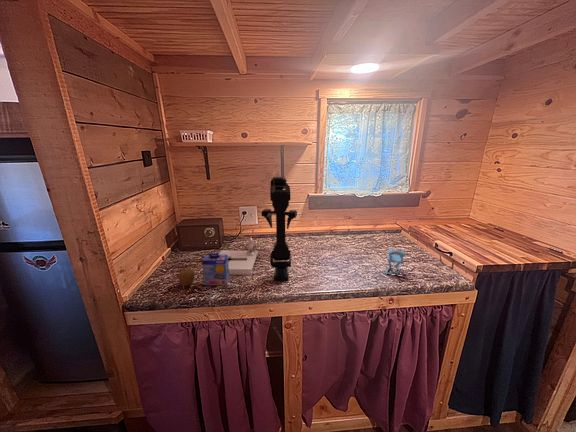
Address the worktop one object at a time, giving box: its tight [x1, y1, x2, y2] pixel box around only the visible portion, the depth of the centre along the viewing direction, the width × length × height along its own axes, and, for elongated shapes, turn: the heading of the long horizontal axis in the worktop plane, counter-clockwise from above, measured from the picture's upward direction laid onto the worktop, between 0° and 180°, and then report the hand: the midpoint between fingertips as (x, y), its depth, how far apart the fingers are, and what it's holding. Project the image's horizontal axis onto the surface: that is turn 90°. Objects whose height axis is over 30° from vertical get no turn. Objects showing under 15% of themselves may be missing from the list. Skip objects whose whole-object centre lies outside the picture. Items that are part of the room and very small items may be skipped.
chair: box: [384, 247, 406, 277], centre depth 107 cm, size 8×8×12 cm
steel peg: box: [246, 236, 256, 256], centre depth 119 cm, size 4×4×9 cm
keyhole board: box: [218, 249, 259, 276], centre depth 115 cm, size 20×20×3 cm
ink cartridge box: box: [201, 253, 230, 286], centre depth 98 cm, size 10×6×14 cm, turn 94°
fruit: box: [178, 267, 195, 287], centre depth 97 cm, size 6×6×8 cm
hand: (279, 228), depth 126 cm, fingers open, 9 cm apart
